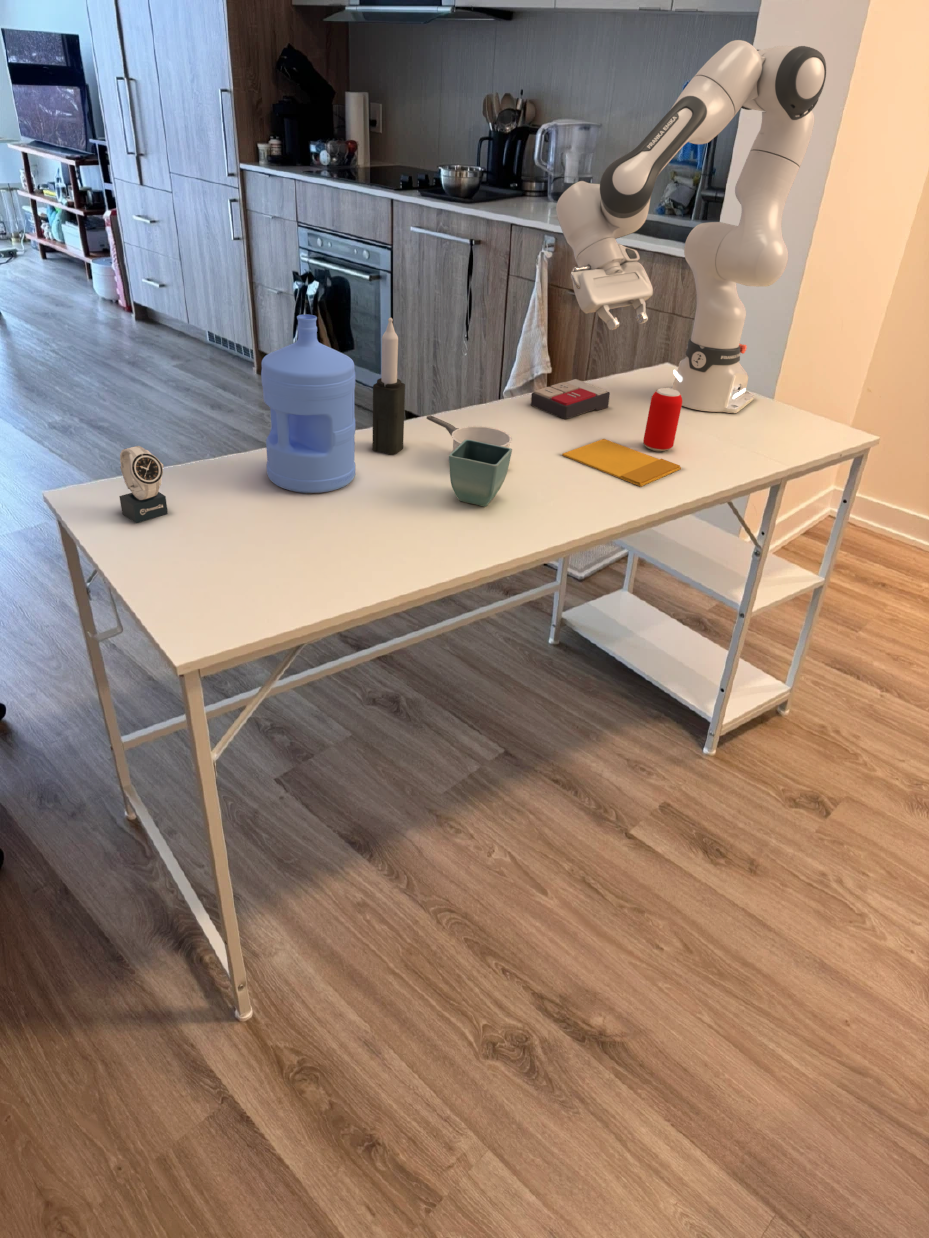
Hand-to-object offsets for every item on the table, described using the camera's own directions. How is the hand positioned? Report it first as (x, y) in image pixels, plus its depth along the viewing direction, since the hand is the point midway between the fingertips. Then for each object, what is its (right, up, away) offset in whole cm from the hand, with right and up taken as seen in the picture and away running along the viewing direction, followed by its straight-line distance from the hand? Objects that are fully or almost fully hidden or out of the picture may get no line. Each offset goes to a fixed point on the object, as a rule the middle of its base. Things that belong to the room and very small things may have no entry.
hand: (629, 325), depth 175 cm
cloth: (-2, -29, -4) cm, 29 cm away
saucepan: (-34, -29, -8) cm, 45 cm away
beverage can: (+7, -24, +4) cm, 26 cm away
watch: (-85, -43, -37) cm, 102 cm away
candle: (-49, -27, -6) cm, 56 cm away
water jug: (-61, -34, -20) cm, 73 cm away
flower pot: (-31, -39, -24) cm, 55 cm away
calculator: (-10, -11, +23) cm, 27 cm away
